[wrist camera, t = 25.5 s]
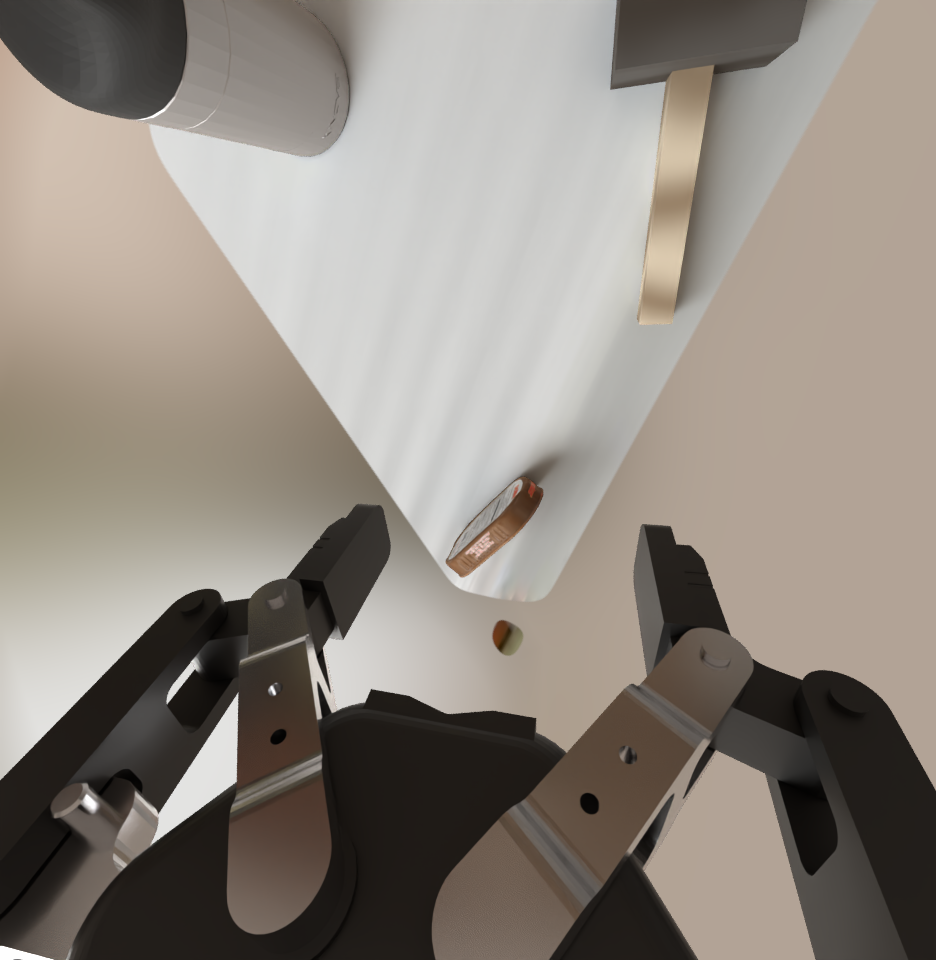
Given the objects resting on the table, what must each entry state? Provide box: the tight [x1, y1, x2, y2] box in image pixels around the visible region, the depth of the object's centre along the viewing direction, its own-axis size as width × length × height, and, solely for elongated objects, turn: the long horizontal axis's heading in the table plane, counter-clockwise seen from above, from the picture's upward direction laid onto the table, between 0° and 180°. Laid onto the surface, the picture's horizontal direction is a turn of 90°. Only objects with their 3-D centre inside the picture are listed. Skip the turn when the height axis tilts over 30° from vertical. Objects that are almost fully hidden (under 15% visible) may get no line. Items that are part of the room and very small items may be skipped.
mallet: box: [610, 0, 807, 325], centre depth 31 cm, size 21×10×5 cm, turn 4°
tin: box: [446, 477, 543, 577], centre depth 49 cm, size 15×3×8 cm, turn 143°
